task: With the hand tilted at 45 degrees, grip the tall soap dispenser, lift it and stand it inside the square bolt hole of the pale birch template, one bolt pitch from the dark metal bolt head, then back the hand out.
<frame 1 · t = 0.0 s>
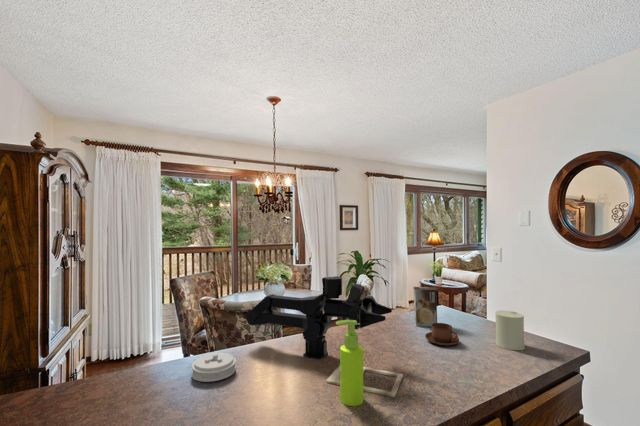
hand: (388, 314, 100), 17 cm above the kitchen counter, tool horizontal, fingers open, 9 cm apart
can: (509, 346, 117), on the kitchen counter
coffee box: (425, 324, 142), on the kitchen counter
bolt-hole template: (376, 381, 91), on the kitchen counter
lid: (214, 375, 96), on the kitchen counter
cup and saucer: (442, 342, 121), on the kitchen counter
soap dispenser: (349, 400, 82), on the kitchen counter
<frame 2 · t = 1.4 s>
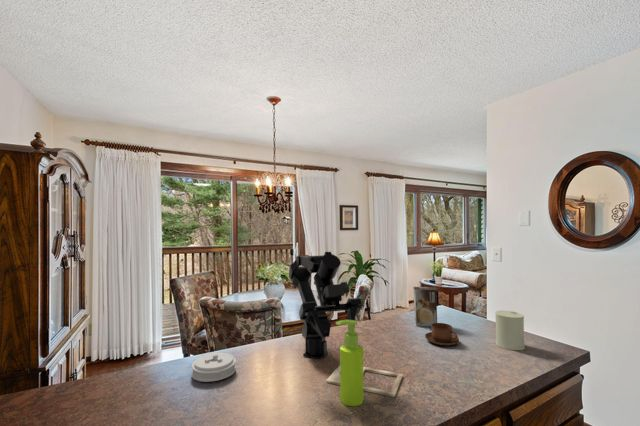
hand: (338, 335, 90), 14 cm above the kitchen counter, tool tilted 45°, fingers open, 9 cm apart
nothing on the kitchen counter moved.
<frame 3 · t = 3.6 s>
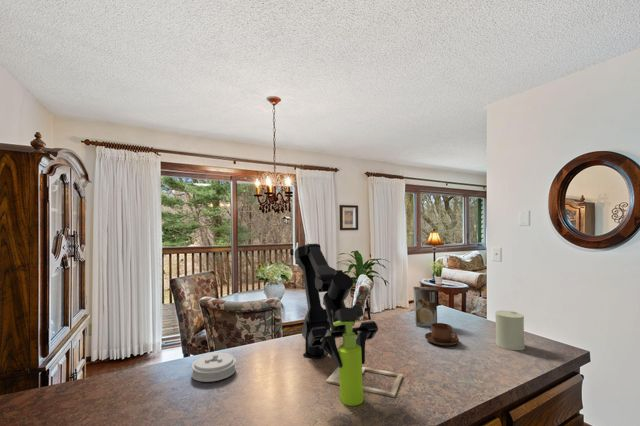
hand: (352, 365, 81), 9 cm above the kitchen counter, tool tilted 45°, fingers closed on soap dispenser, 6 cm apart
soap dispenser: (349, 400, 82), on the kitchen counter, touching gripper
everything else where it was.
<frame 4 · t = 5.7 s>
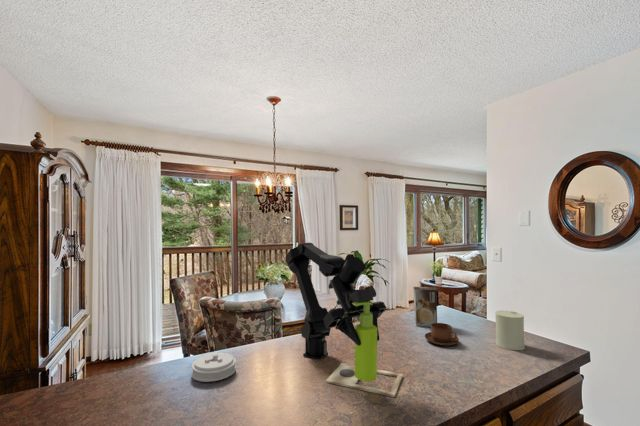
hand: (369, 342, 85), 13 cm above the kitchen counter, tool tilted 45°, fingers closed on soap dispenser, 6 cm apart
soap dispenser: (363, 376, 86), point 4 cm above the kitchen counter, touching gripper
everything else where it was.
when the fingers open (10 cm above the kitchen counter, at t = 7.5 s): soap dispenser stays where it is, resting in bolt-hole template.
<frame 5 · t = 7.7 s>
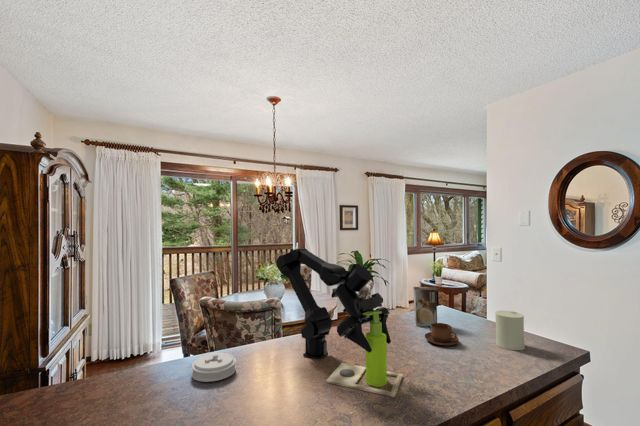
hand: (380, 347, 90), 10 cm above the kitchen counter, tool tilted 45°, fingers open, 9 cm apart
soap dispenser: (374, 382, 91), resting in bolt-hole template
everything else where it was.
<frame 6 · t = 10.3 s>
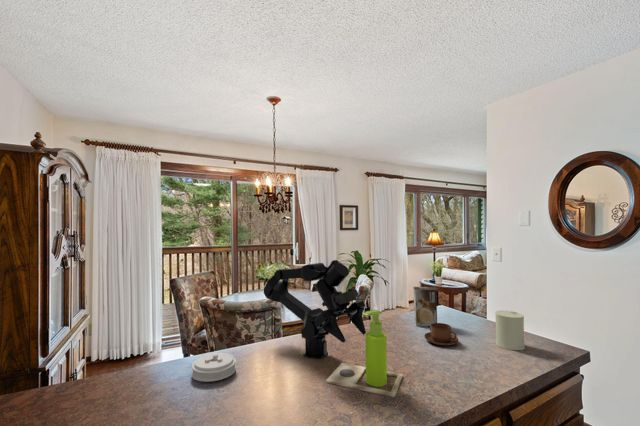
hand: (355, 337, 97), 10 cm above the kitchen counter, tool tilted 45°, fingers open, 9 cm apart
nothing on the kitchen counter moved.
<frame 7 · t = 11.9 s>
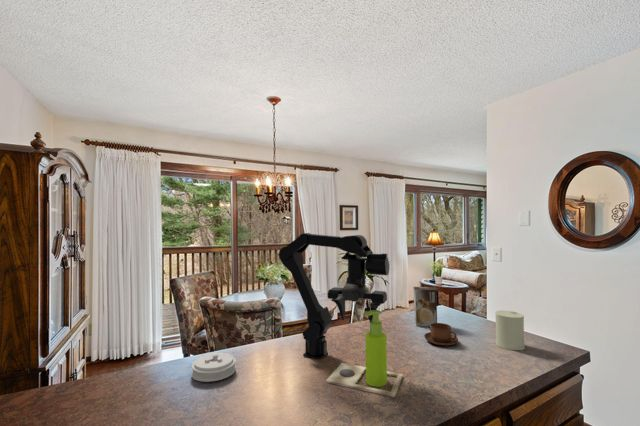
hand: (357, 321, 104), 13 cm above the kitchen counter, tool pointing down, fingers open, 9 cm apart
nothing on the kitchen counter moved.
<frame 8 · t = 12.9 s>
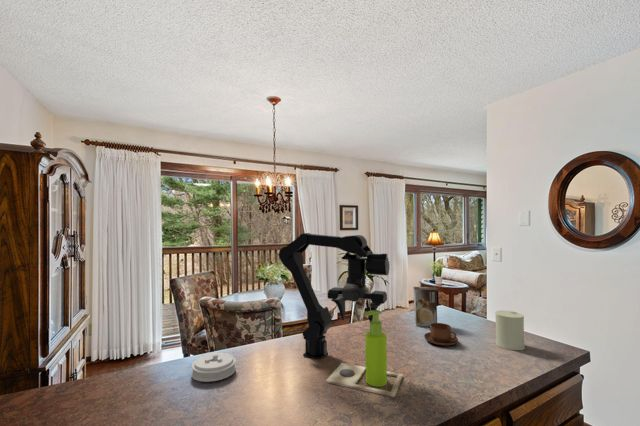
hand: (357, 321, 104), 13 cm above the kitchen counter, tool pointing down, fingers open, 9 cm apart
nothing on the kitchen counter moved.
at the end: soap dispenser 0.7 cm off-centre on the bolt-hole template, point 0.0 cm above the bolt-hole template's base; soap dispenser tilted 0°; the gripper is holding nothing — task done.
